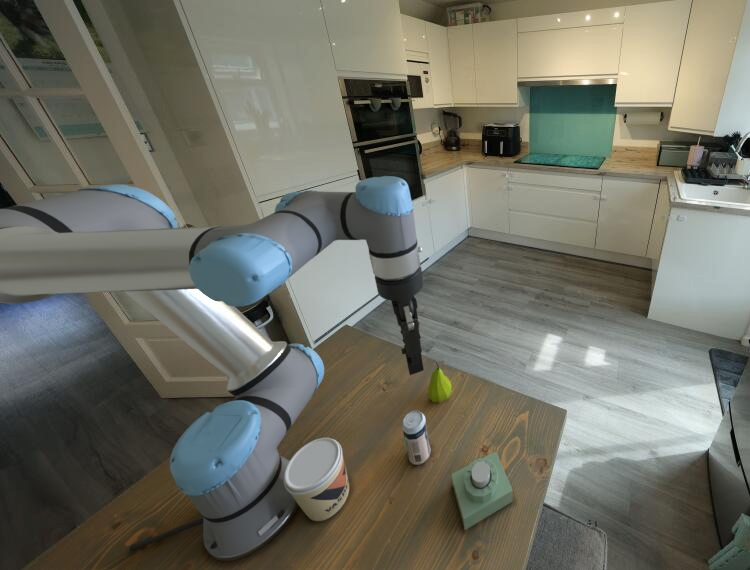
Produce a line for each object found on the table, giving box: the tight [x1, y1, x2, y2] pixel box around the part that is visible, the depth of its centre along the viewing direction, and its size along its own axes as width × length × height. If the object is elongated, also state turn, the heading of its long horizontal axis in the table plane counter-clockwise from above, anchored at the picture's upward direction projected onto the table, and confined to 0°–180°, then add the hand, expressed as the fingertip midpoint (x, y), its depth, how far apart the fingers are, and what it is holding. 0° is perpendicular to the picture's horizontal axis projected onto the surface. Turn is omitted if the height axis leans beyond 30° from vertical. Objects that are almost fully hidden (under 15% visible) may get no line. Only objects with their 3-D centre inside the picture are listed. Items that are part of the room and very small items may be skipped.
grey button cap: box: [471, 462, 490, 488], centre depth 60 cm, size 4×4×2 cm
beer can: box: [401, 410, 432, 465], centre depth 67 cm, size 5×5×12 cm
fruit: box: [426, 361, 453, 403], centre depth 80 cm, size 6×6×12 cm
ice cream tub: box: [284, 437, 350, 522], centre depth 60 cm, size 9×9×12 cm
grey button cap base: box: [450, 451, 514, 531], centre depth 62 cm, size 10×8×6 cm
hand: (416, 370), depth 62 cm, fingers closed
